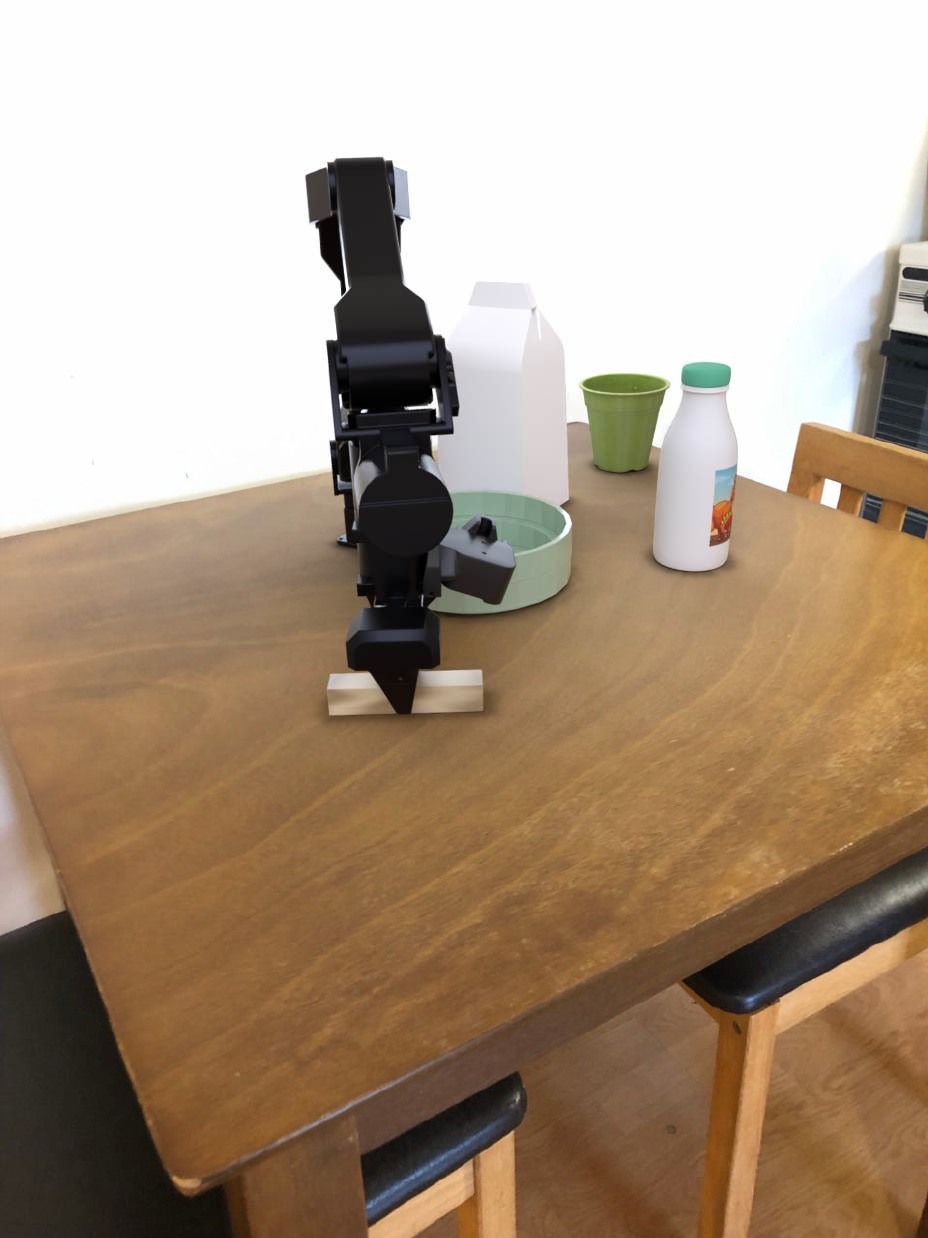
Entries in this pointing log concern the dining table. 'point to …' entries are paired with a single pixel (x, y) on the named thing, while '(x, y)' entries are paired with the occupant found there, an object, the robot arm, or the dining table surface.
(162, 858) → the dining table surface
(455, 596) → the bowl
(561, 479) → the milk
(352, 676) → the stick
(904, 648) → the dining table surface
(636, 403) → the plant pot
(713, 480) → the milk bottle
